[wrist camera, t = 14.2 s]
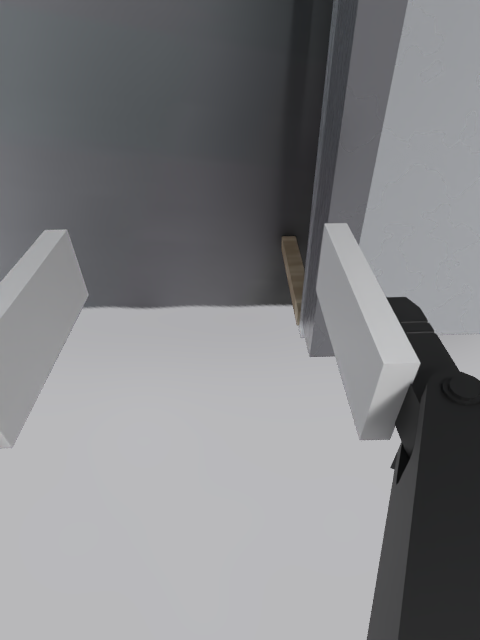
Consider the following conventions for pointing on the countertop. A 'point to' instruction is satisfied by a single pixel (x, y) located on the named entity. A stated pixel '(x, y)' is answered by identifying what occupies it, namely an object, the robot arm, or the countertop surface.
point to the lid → (402, 157)
